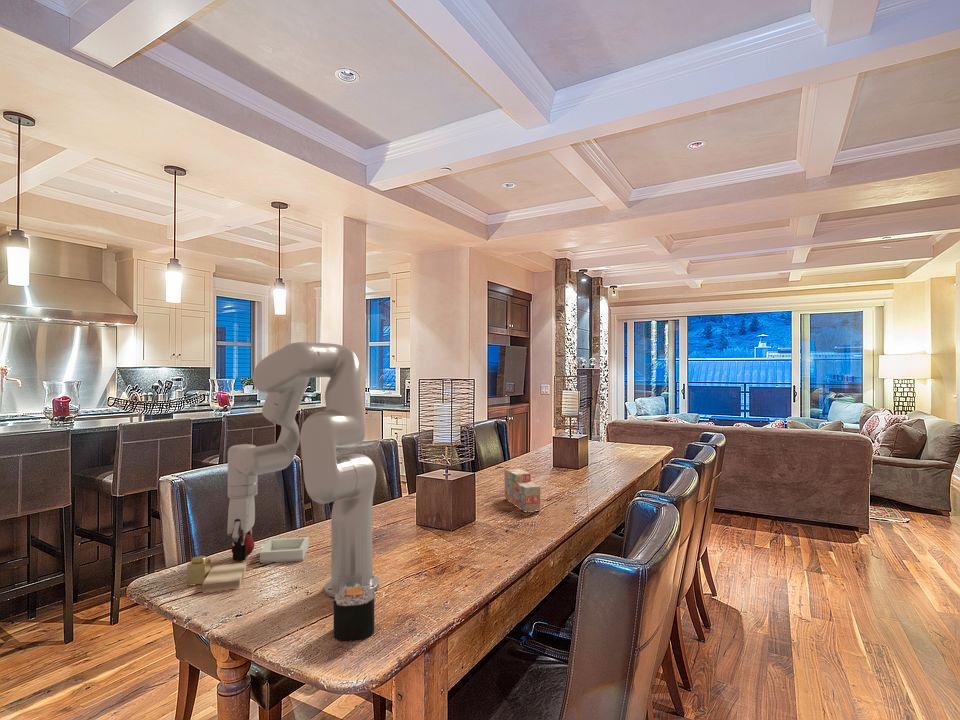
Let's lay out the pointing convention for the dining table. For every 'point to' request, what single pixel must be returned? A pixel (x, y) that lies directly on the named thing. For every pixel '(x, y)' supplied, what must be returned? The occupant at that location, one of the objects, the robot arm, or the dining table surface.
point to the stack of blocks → (521, 489)
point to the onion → (248, 542)
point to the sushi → (354, 613)
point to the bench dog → (198, 570)
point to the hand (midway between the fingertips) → (242, 555)
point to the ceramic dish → (284, 550)
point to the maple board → (224, 577)
